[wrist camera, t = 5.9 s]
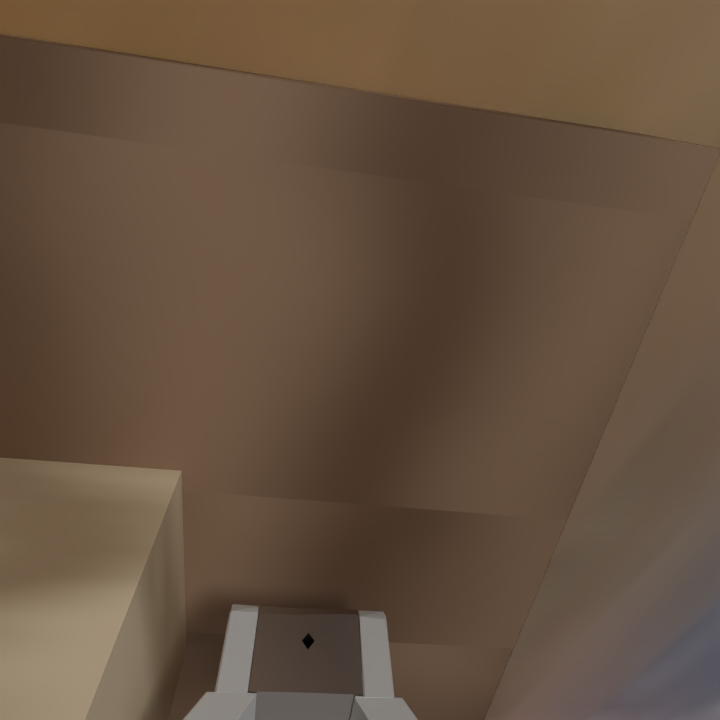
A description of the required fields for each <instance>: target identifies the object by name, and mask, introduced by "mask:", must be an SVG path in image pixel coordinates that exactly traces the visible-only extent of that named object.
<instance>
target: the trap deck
mask: <svg viewBox="0 0 720 720" xmlns="http://www.w3.org/2000/svg"><path fill="white" fill-rule="evenodd" d="M719 155H720V148H714V147H709V146H703V145H698V144H693V143H687V142H682V141H676V140H671V139H666V138H660V137H655V136H649V135H644V134H639V133H633V132H626V131H620V130H613V129H607V128H601V127H594V126H588V125H581V124H575V123H569V122H562V121H556V120H549V119H543V118H537V117H530V116H524V115H517V114H511V113H505V112H498V111H492V110H485V109H479V108H473V107H466V106H460V105H453V104H447V103H441V102H434V101H428V100H421V99H415V98H409V97H402V96H396V95H389V94H383V93H377V92H370V91H364V90H357V89H351V88H345V87H338V86H332V85H325V84H319V83H313V82H306V81H300V80H293V79H287V78H281V77H274V76H268V75H261V74H255V73H249V72H242V71H236V70H229V69H223V68H217V67H210V66H204V65H197V64H191V63H184V62H178V61H172V60H165V59H159V58H153V57H146V56H140V55H133V54H127V53H121V52H114V51H108V50H101V49H95V48H89V47H82V46H76V45H69V44H63V43H56V42H50V41H44V40H37V39H31V38H24V37H18V36H12V35H5V34H0V458H14V459H28V460H41V461H55V462H69V463H83V464H97V465H110V466H124V467H138V468H152V469H166V470H180V471H182V501H183V536H184V572H185V607H186V643H187V648H186V652H185V656H184V660H183V664H182V668H181V672H180V675H179V679H178V683H177V687H176V691H175V695H174V699H173V702H172V706H171V710H170V714H169V718H168V720H183V718H184V717H185V716H186V715H187V714H188V712H189V711H190V710H191V709H192V708H193V707H194V705H195V704H196V703H197V702H198V701H199V699H200V698H201V697H202V696H203V695H204V694H205V692H215V687H216V681H217V676H218V671H219V666H220V660H221V655H222V650H223V645H224V639H225V634H226V629H227V624H228V618H229V613H230V610H231V607H232V605H233V604H241V605H259V606H272V607H286V608H300V609H306V608H323V609H355V610H357V611H358V610H360V611H383V612H384V614H385V616H386V621H387V631H388V640H389V650H390V659H391V669H392V678H393V688H394V697H399V698H403V699H404V701H405V702H406V703H407V705H408V706H409V708H410V709H411V711H412V712H413V713H414V715H415V716H416V718H417V719H418V720H484V718H485V716H486V713H487V711H488V708H489V706H490V704H491V701H492V699H493V696H494V694H495V692H496V689H497V687H498V685H499V682H500V680H501V677H502V675H503V673H504V670H505V668H506V665H507V663H508V661H509V658H510V656H511V653H512V651H513V649H514V646H515V644H516V641H517V639H518V637H519V634H520V632H521V629H522V627H523V625H524V622H525V620H526V617H527V615H528V613H529V610H530V608H531V605H532V603H533V601H534V598H535V596H536V593H537V591H538V589H539V586H540V584H541V581H542V579H543V577H544V574H545V572H546V569H547V567H548V565H549V562H550V560H551V557H552V555H553V553H554V550H555V548H556V545H557V543H558V541H559V538H560V536H561V533H562V531H563V529H564V526H565V524H566V521H567V519H568V517H569V514H570V512H571V509H572V507H573V505H574V502H575V500H576V497H577V495H578V493H579V490H580V488H581V485H582V483H583V481H584V478H585V476H586V473H587V471H588V469H589V466H590V464H591V461H592V459H593V457H594V454H595V452H596V449H597V447H598V445H599V442H600V440H601V438H602V435H603V433H604V430H605V428H606V426H607V423H608V421H609V418H610V416H611V414H612V411H613V409H614V406H615V404H616V402H617V399H618V397H619V394H620V392H621V390H622V387H623V385H624V382H625V380H626V378H627V375H628V373H629V370H630V368H631V366H632V363H633V361H634V358H635V356H636V354H637V351H638V349H639V346H640V344H641V342H642V339H643V337H644V334H645V332H646V330H647V327H648V325H649V322H650V320H651V318H652V315H653V313H654V310H655V308H656V306H657V303H658V301H659V298H660V296H661V294H662V291H663V289H664V286H665V284H666V282H667V279H668V277H669V274H670V272H671V270H672V267H673V265H674V262H675V260H676V258H677V255H678V253H679V250H680V248H681V246H682V243H683V241H684V238H685V236H686V234H687V231H688V229H689V226H690V224H691V222H692V219H693V217H694V214H695V212H696V210H697V207H698V205H699V202H700V200H701V198H702V195H703V193H704V191H705V188H706V186H707V183H708V181H709V179H710V176H711V174H712V171H713V169H714V167H715V164H716V162H717V159H718V157H719Z"/></svg>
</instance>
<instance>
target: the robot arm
mask: <svg viewBox="0 0 720 720" xmlns="http://www.w3.org/2000/svg"><path fill="white" fill-rule="evenodd" d="M183 720H418V719H417V718H416V716H415V715H414V713H413V712H412V711H411V709H410V708H409V706H408V705H407V703H406V702H405V701H404V699H403V698H399V697H394V688H393V678H392V669H391V659H390V650H389V640H388V631H387V621H386V616H385V614H384V612H383V611H360V610H358V611H357V610H355V609H323V608H306V609H300V608H286V607H272V606H259V605H241V604H233V605H232V607H231V610H230V613H229V618H228V624H227V629H226V634H225V639H224V645H223V650H222V655H221V660H220V666H219V671H218V676H217V681H216V687H215V692H205V694H204V695H203V696H202V697H201V698H200V699H199V701H198V702H197V703H196V704H195V705H194V707H193V708H192V709H191V710H190V711H189V712H188V714H187V715H186V716H185V717H184V718H183Z"/></svg>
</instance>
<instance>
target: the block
mask: <svg viewBox="0 0 720 720" xmlns="http://www.w3.org/2000/svg"><path fill="white" fill-rule="evenodd" d="M186 648H187V643H186V607H185V572H184V536H183V501H182V471H180V470H166V469H152V468H138V467H124V466H110V465H97V464H83V463H69V462H55V461H41V460H28V459H14V458H0V720H168V718H169V714H170V710H171V706H172V702H173V699H174V695H175V691H176V687H177V683H178V679H179V675H180V672H181V668H182V664H183V660H184V656H185V652H186Z"/></svg>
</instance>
